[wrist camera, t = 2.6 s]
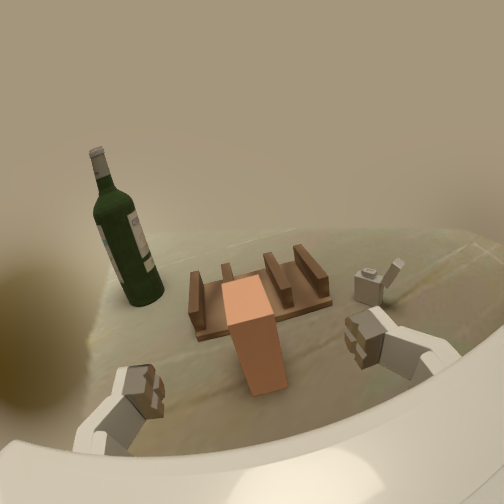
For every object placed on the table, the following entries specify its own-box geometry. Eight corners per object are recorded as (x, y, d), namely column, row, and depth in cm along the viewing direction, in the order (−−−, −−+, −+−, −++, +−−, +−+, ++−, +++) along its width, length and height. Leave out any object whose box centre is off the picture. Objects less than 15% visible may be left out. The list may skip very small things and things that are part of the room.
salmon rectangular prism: (273, 346, 33) (258, 274, 29) (288, 387, 27) (273, 313, 22) (243, 354, 33) (221, 283, 28) (253, 396, 27) (227, 325, 22)
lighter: (353, 299, 38) (353, 252, 35) (359, 293, 39) (359, 246, 36) (395, 314, 33) (401, 264, 29) (400, 307, 34) (406, 258, 30)
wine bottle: (171, 291, 51) (121, 137, 38) (137, 312, 46) (78, 152, 33) (154, 280, 56) (110, 145, 44) (124, 298, 52) (73, 159, 39)
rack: (302, 263, 51) (299, 242, 49) (332, 305, 38) (331, 279, 36) (198, 290, 49) (190, 269, 47) (198, 341, 37) (187, 317, 35)
